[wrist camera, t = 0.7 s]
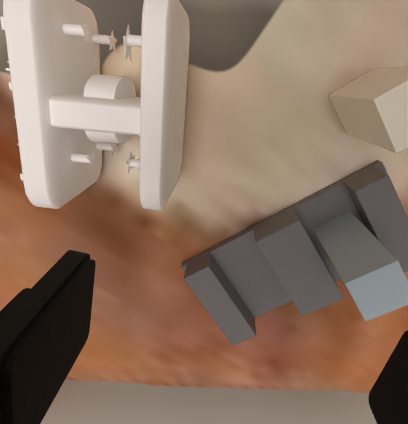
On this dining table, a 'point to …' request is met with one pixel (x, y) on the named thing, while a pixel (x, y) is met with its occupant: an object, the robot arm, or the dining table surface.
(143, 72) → the cable organizer
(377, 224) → the grey blocky pieces
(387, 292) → the slate plug
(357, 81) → the cream plug
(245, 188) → the dining table surface
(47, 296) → the robot arm
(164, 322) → the dining table surface
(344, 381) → the dining table surface
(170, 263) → the dining table surface
